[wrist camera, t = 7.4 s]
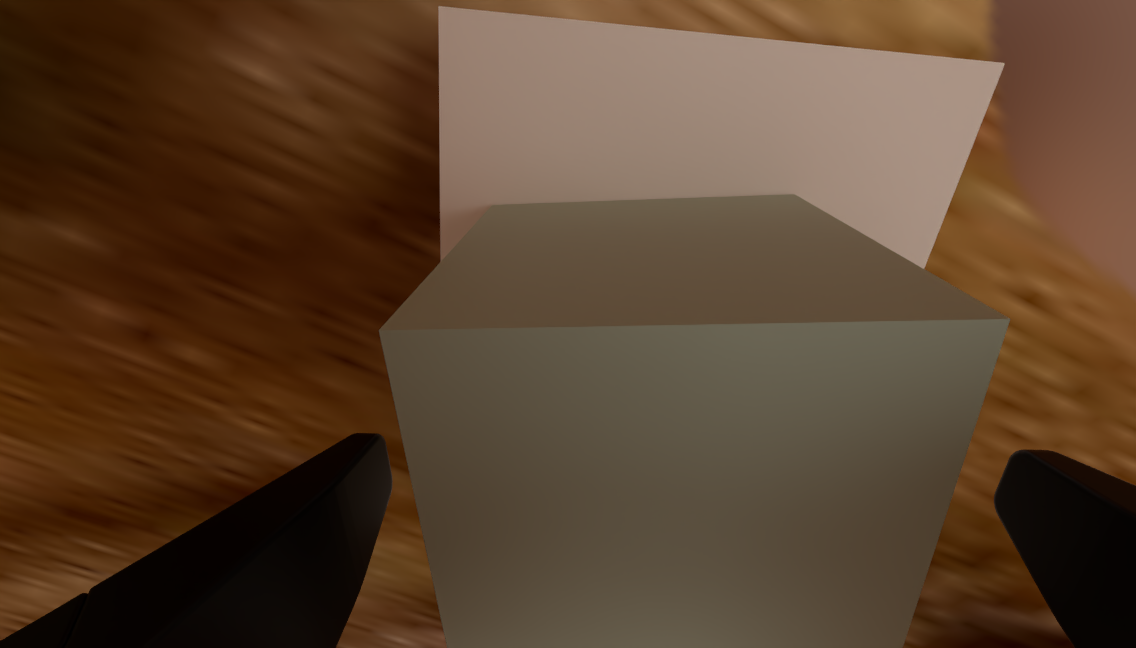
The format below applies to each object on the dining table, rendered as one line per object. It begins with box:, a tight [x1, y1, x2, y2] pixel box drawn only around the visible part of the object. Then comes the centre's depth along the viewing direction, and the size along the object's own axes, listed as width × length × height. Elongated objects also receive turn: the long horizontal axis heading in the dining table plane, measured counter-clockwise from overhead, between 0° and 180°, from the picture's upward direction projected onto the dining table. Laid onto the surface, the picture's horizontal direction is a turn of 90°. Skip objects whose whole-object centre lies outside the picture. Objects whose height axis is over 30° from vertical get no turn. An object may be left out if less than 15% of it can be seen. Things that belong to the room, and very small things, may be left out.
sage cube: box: [379, 194, 1010, 648], centre depth 9 cm, size 6×6×6 cm
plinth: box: [438, 6, 1005, 269], centre depth 14 cm, size 12×10×4 cm
